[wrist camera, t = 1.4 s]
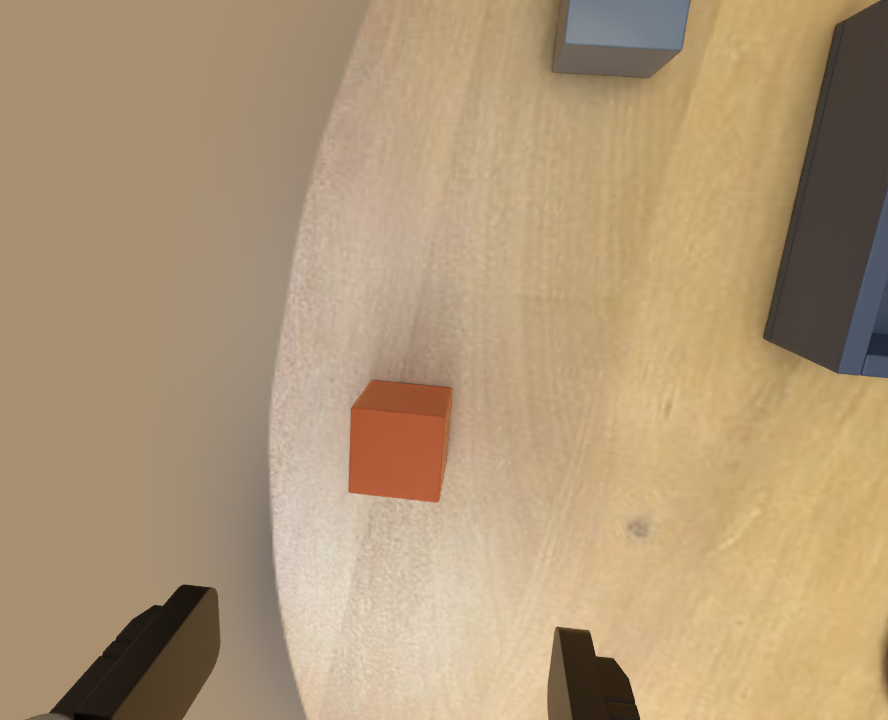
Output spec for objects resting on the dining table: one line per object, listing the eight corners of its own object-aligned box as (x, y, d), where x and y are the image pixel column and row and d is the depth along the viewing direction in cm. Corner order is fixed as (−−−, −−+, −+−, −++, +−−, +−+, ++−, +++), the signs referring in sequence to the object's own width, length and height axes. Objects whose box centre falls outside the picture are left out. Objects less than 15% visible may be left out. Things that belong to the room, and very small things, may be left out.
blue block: (551, 72, 23) (563, 44, 19) (564, -40, 22) (579, -94, 18) (650, 78, 23) (682, 50, 19) (667, -35, 22) (706, -88, 18)
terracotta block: (367, 454, 28) (347, 493, 24) (371, 379, 27) (350, 407, 23) (446, 463, 28) (438, 503, 24) (452, 387, 27) (445, 416, 23)
